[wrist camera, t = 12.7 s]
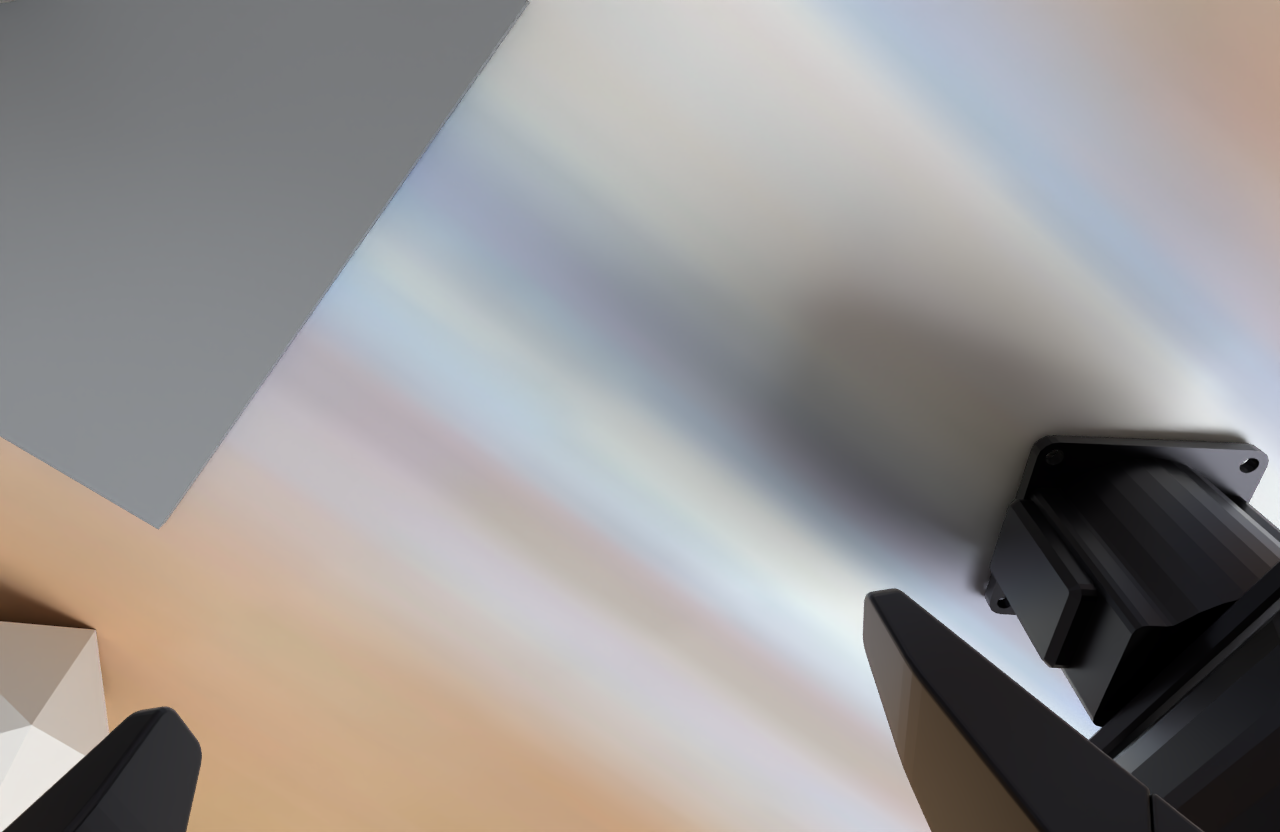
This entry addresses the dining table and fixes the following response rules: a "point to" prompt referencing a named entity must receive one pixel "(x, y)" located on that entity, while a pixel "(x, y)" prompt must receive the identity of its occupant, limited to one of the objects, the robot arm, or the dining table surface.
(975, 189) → the dining table surface
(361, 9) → the mat
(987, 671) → the robot arm
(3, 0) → the cream teardrop shape
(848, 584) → the dining table surface
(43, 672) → the die
